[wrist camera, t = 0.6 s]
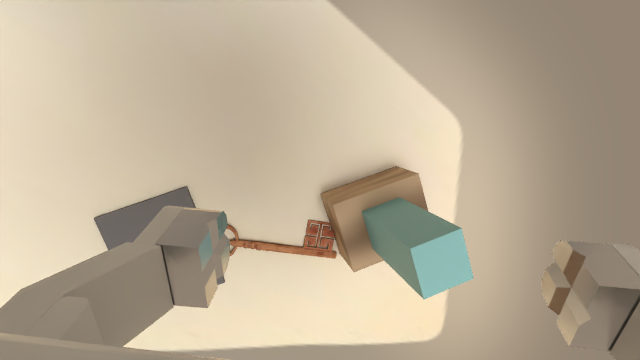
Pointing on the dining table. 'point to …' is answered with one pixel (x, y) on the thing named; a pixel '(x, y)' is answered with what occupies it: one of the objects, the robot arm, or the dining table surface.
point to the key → (291, 249)
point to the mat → (139, 218)
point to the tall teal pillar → (418, 246)
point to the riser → (358, 197)
